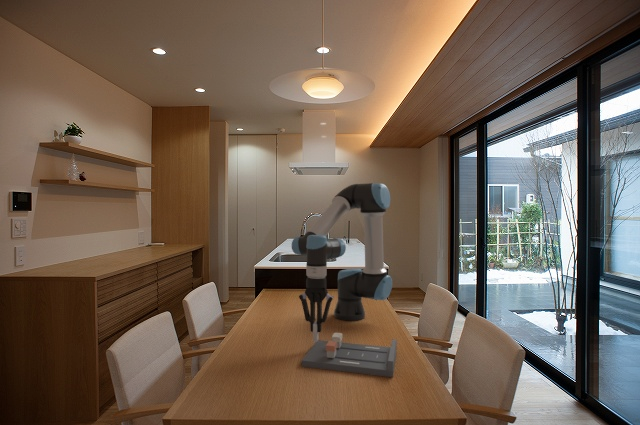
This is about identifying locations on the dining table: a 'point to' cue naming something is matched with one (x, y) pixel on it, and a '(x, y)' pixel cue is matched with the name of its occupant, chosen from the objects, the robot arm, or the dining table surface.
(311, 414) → the dining table surface
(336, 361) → the console
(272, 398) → the dining table surface
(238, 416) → the dining table surface
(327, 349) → the fader
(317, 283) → the robot arm
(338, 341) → the fader
